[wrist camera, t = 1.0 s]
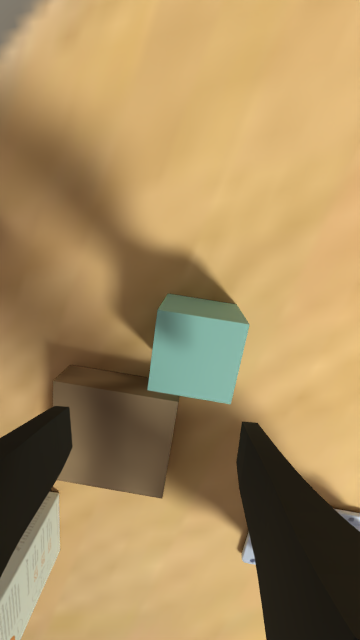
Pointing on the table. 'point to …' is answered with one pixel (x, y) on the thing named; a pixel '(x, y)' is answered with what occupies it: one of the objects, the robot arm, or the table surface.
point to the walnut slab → (116, 430)
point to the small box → (29, 569)
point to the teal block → (197, 348)
